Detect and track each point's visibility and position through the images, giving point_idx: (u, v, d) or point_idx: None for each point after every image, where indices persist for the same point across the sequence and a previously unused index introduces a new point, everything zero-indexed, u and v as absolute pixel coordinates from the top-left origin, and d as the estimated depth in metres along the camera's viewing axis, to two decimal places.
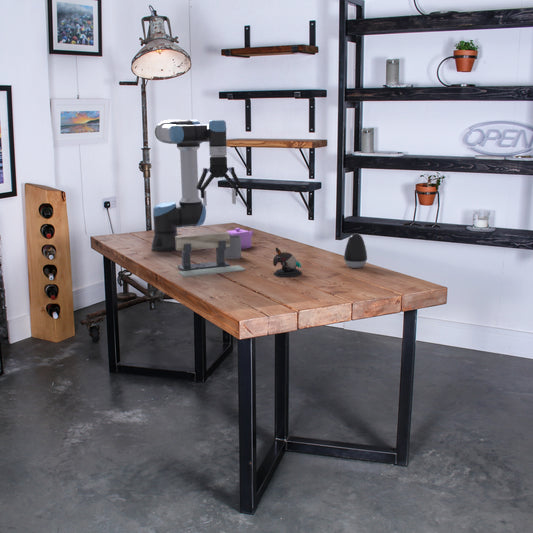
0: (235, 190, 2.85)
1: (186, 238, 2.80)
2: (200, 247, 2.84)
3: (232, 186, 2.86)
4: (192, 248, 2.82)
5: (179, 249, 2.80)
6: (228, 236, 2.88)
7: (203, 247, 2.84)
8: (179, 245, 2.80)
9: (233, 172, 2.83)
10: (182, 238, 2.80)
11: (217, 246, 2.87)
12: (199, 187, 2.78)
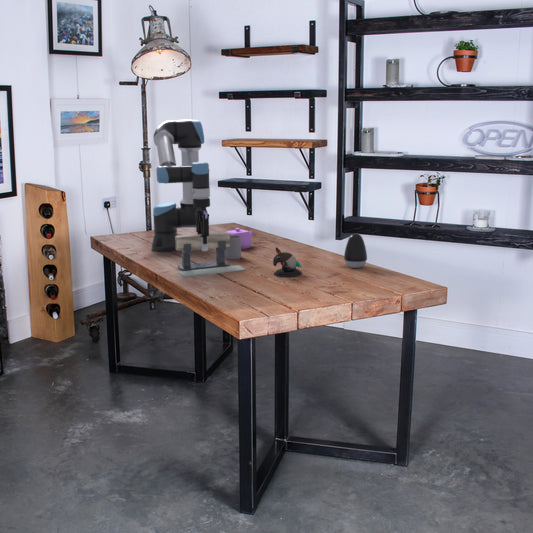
0: (201, 238, 2.82)
1: (186, 238, 2.80)
2: (200, 247, 2.84)
3: None
4: (192, 248, 2.82)
5: (179, 249, 2.80)
6: (228, 236, 2.88)
7: None
8: (179, 245, 2.80)
9: (203, 219, 2.78)
10: (182, 238, 2.80)
11: (217, 246, 2.87)
12: (196, 230, 2.89)
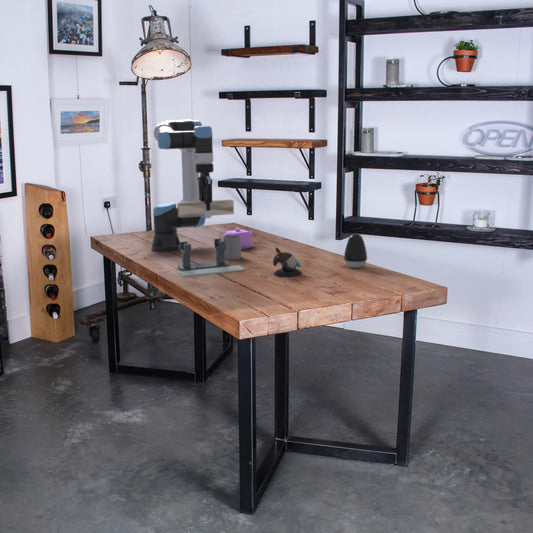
0: (204, 204, 2.74)
1: (189, 204, 2.72)
2: (203, 214, 2.76)
3: None
4: (195, 215, 2.74)
5: (181, 216, 2.72)
6: (232, 203, 2.80)
7: None
8: (181, 211, 2.72)
9: (206, 184, 2.70)
10: (184, 204, 2.72)
11: (220, 213, 2.79)
12: (199, 197, 2.81)
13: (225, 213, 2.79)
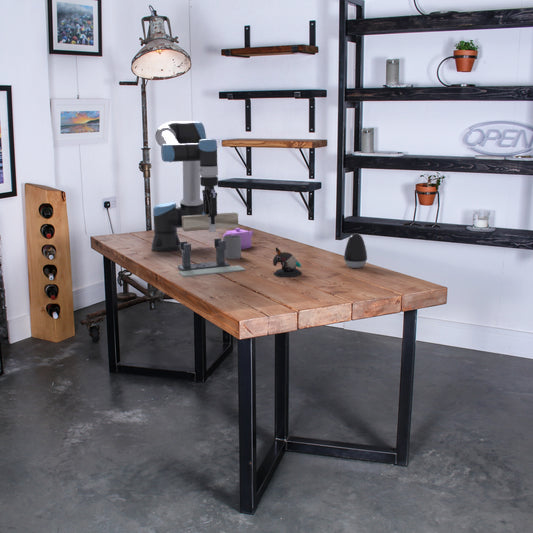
0: (209, 218, 2.72)
1: (193, 218, 2.70)
2: (208, 228, 2.74)
3: None
4: (199, 228, 2.72)
5: (186, 229, 2.70)
6: (236, 216, 2.78)
7: None
8: (186, 225, 2.70)
9: (210, 198, 2.68)
10: (189, 218, 2.69)
11: (225, 227, 2.77)
12: (203, 210, 2.79)
13: (230, 226, 2.77)
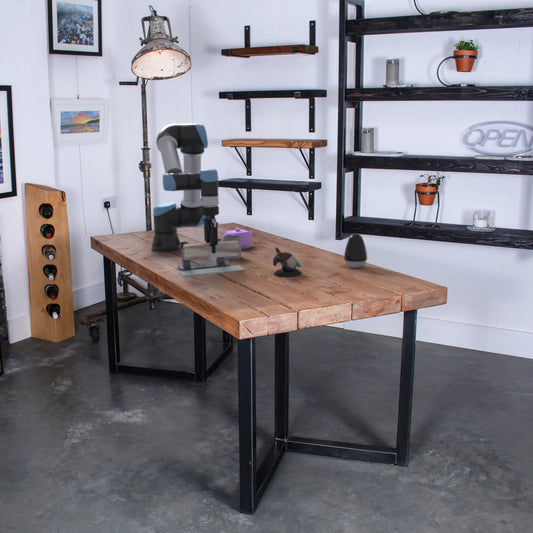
0: (210, 246, 2.75)
1: (194, 247, 2.73)
2: (209, 256, 2.76)
3: None
4: (200, 257, 2.75)
5: (187, 258, 2.73)
6: (237, 245, 2.80)
7: None
8: (187, 254, 2.73)
9: (211, 227, 2.71)
10: (190, 247, 2.72)
11: (226, 255, 2.79)
12: None
13: (230, 255, 2.80)
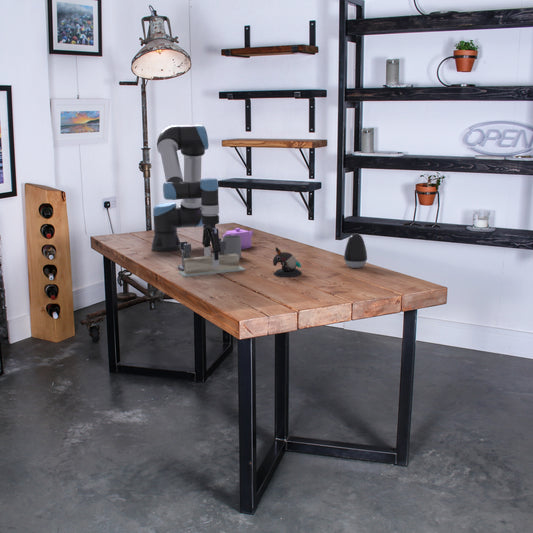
0: (212, 253, 2.72)
1: (195, 261, 2.75)
2: (209, 270, 2.78)
3: (217, 249, 2.73)
4: (201, 271, 2.77)
5: (188, 272, 2.74)
6: (237, 258, 2.82)
7: (212, 269, 2.78)
8: (188, 268, 2.74)
9: (212, 234, 2.71)
10: (191, 261, 2.74)
11: (226, 268, 2.81)
12: (202, 242, 2.85)
13: (231, 268, 2.82)
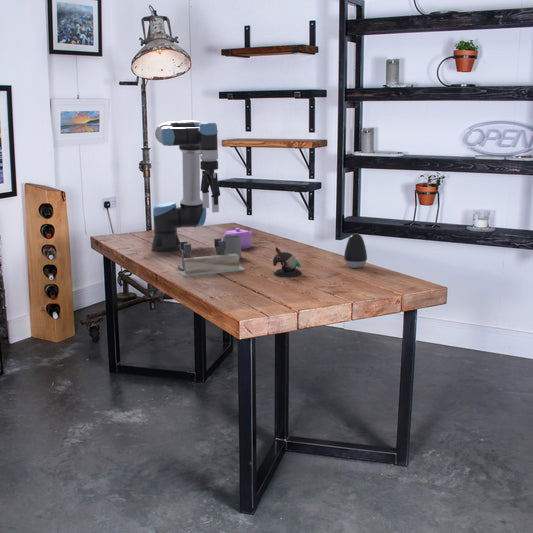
0: (212, 198, 2.67)
1: (195, 261, 2.75)
2: (209, 270, 2.78)
3: None
4: (201, 271, 2.77)
5: (188, 272, 2.74)
6: (237, 258, 2.82)
7: (212, 269, 2.78)
8: (188, 268, 2.74)
9: (211, 178, 2.66)
10: (191, 261, 2.74)
11: (226, 268, 2.81)
12: (201, 188, 2.82)
13: (231, 268, 2.82)
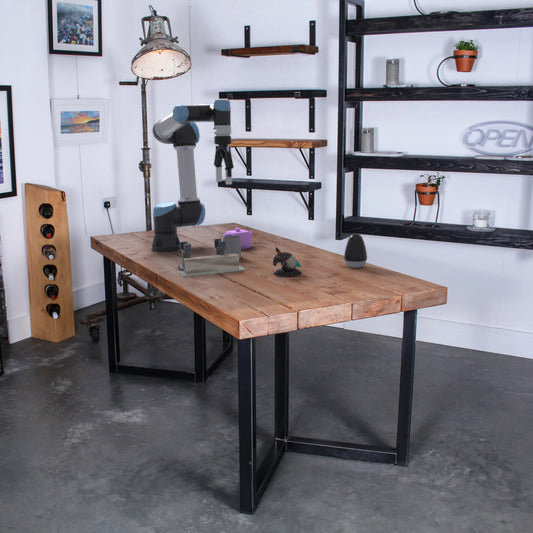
0: (225, 170, 2.83)
1: (195, 261, 2.75)
2: (209, 270, 2.78)
3: None
4: (201, 271, 2.77)
5: (188, 272, 2.74)
6: (237, 258, 2.82)
7: (212, 269, 2.78)
8: (188, 268, 2.74)
9: (225, 152, 2.82)
10: (191, 261, 2.74)
11: (226, 268, 2.81)
12: (214, 163, 2.97)
13: (231, 268, 2.82)
